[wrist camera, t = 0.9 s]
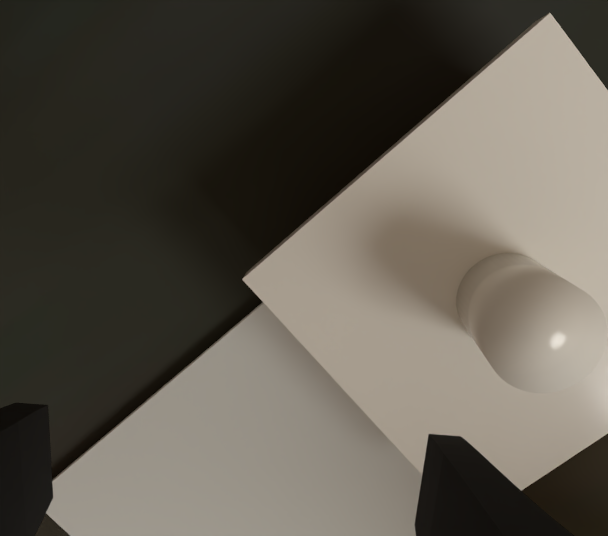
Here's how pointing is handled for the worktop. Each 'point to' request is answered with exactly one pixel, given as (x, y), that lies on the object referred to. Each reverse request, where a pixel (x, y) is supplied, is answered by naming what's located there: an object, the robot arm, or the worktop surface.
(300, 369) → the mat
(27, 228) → the worktop surface
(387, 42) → the worktop surface
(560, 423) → the lid
